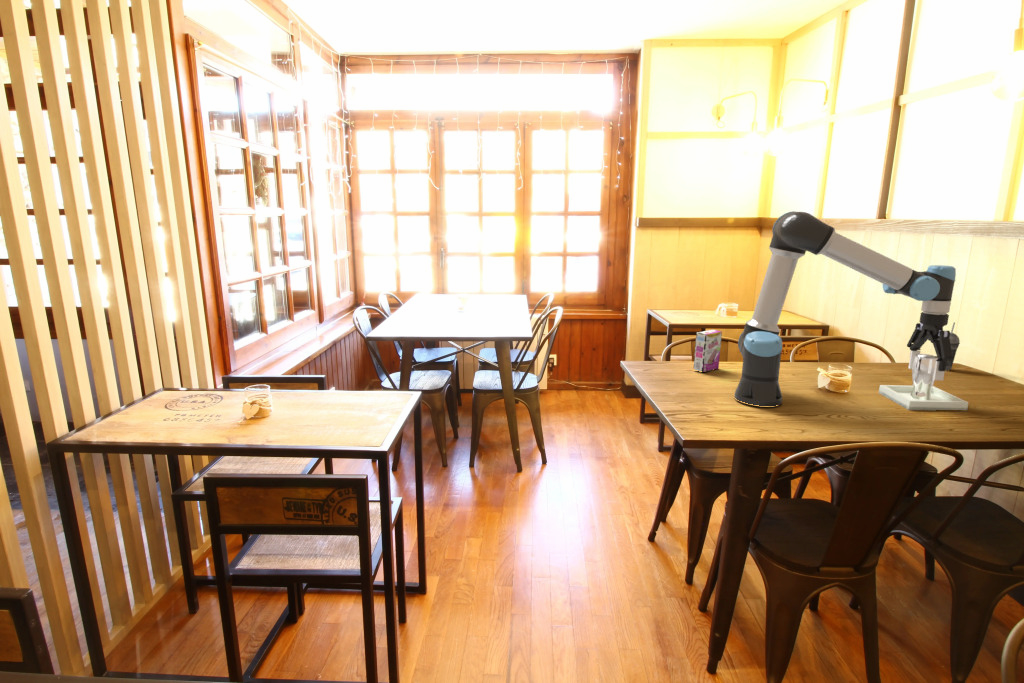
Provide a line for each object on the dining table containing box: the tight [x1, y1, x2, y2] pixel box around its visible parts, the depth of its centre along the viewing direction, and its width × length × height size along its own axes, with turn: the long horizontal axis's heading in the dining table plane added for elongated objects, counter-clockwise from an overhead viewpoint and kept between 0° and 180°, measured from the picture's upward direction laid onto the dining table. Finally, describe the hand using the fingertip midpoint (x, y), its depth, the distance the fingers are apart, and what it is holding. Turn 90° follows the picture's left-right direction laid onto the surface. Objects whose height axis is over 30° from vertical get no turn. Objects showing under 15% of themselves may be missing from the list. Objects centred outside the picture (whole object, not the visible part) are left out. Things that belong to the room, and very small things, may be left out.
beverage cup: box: [938, 322, 961, 371], centre depth 229 cm, size 7×7×20 cm
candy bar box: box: [693, 329, 723, 373], centre depth 231 cm, size 11×5×16 cm, turn 126°
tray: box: [878, 384, 969, 412], centre depth 192 cm, size 18×18×3 cm
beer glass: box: [910, 353, 938, 401], centre depth 191 cm, size 7×7×15 cm
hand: (925, 374), depth 190 cm, fingers open, 13 cm apart
